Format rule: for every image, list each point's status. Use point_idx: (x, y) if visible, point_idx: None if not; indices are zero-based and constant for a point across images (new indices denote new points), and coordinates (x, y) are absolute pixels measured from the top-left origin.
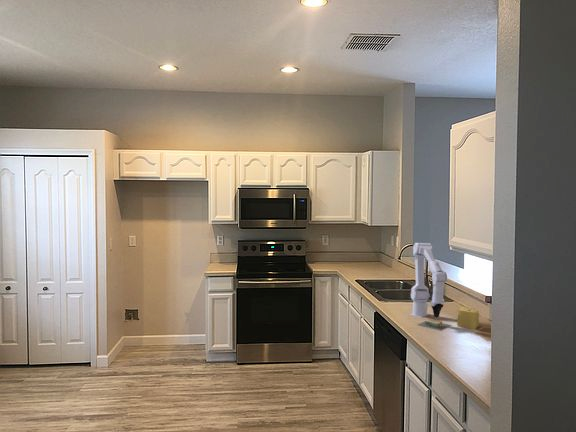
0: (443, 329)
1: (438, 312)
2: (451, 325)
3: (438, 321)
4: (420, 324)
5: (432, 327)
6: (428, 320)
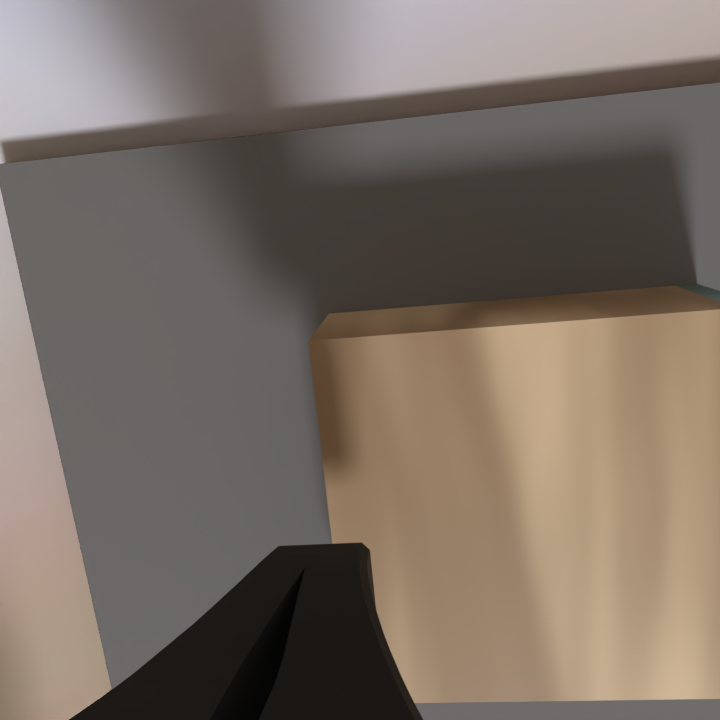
0: (644, 100)
1: (392, 656)
2: (22, 175)
3: (404, 426)
4: (687, 707)
5: None
6: (578, 663)
